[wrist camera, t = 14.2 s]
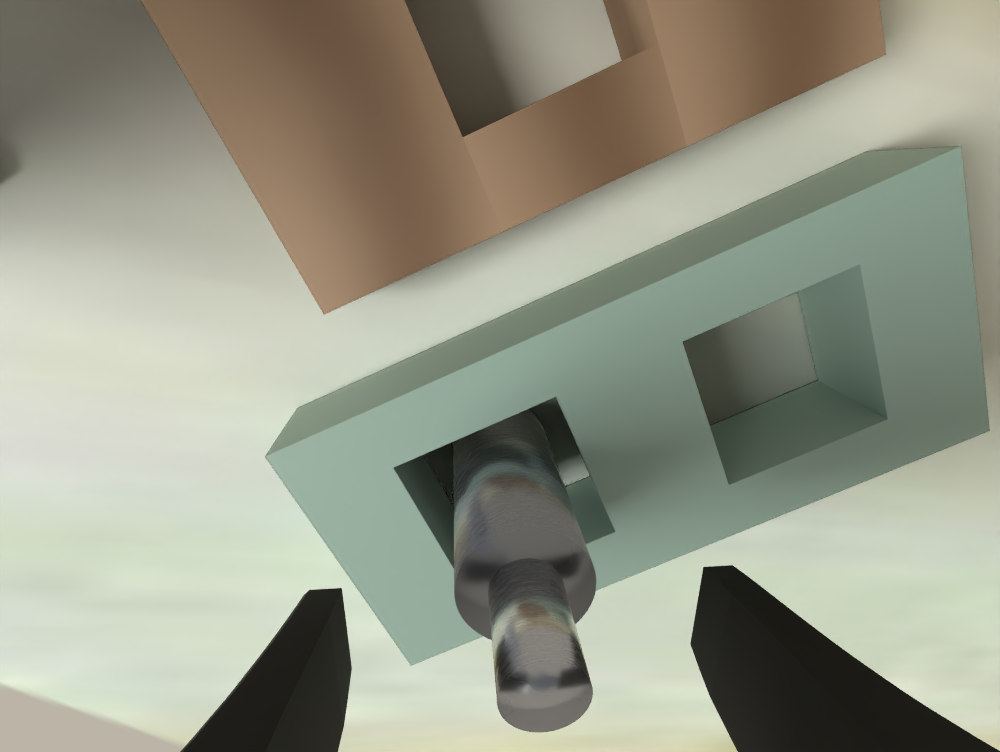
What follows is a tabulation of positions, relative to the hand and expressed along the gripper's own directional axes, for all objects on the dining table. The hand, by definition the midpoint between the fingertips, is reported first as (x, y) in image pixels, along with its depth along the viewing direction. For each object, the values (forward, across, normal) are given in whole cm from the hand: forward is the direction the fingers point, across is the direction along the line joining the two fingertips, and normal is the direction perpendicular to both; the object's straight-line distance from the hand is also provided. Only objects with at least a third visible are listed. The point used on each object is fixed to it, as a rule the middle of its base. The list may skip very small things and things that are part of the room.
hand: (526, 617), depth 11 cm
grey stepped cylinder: (+7, 0, 0) cm, 7 cm away
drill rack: (+7, -4, -2) cm, 8 cm away
